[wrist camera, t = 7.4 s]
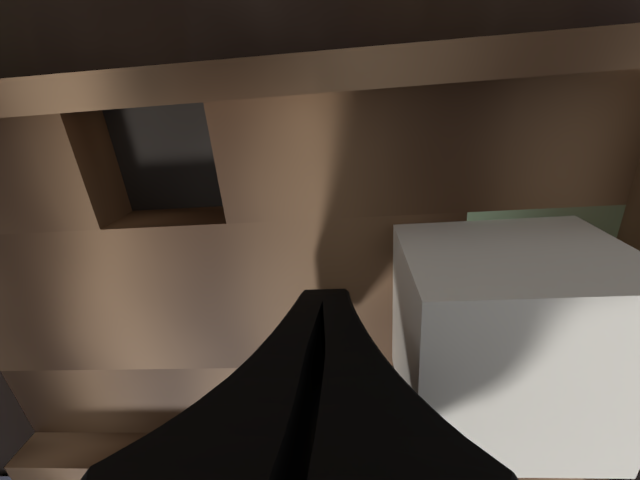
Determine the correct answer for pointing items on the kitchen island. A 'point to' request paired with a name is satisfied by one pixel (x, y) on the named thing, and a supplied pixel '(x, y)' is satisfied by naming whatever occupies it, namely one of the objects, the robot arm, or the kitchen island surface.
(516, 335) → the block
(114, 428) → the rimmed wooden board
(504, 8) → the kitchen island surface
